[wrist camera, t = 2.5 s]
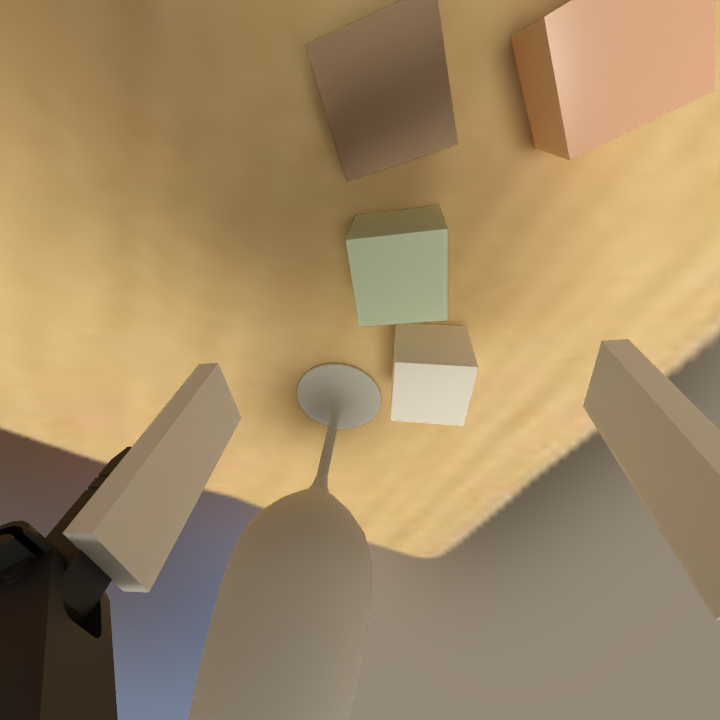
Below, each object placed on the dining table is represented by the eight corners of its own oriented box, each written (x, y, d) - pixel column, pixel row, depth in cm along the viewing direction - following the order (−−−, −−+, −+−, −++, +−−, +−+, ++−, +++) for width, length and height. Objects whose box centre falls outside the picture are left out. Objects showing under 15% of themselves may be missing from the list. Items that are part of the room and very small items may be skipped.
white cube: (396, 321, 26) (394, 362, 22) (466, 325, 26) (478, 367, 22) (392, 376, 29) (390, 420, 25) (455, 380, 29) (463, 425, 25)
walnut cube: (326, 57, 18) (304, 44, 14) (427, 13, 17) (435, -16, 13) (357, 166, 20) (346, 181, 16) (446, 135, 19) (457, 144, 15)
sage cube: (355, 214, 22) (345, 240, 18) (438, 204, 21) (448, 228, 17) (366, 290, 25) (359, 326, 21) (439, 283, 24) (447, 320, 20)
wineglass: (379, 358, 28) (342, 755, 11) (386, 427, 32) (369, 789, 15) (286, 362, 29) (121, 728, 12) (305, 429, 33) (205, 767, 16)
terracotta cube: (510, 37, 17) (544, 16, 13) (631, -38, 15) (715, -90, 11) (534, 147, 19) (569, 160, 15) (642, 93, 17) (714, 90, 13)
